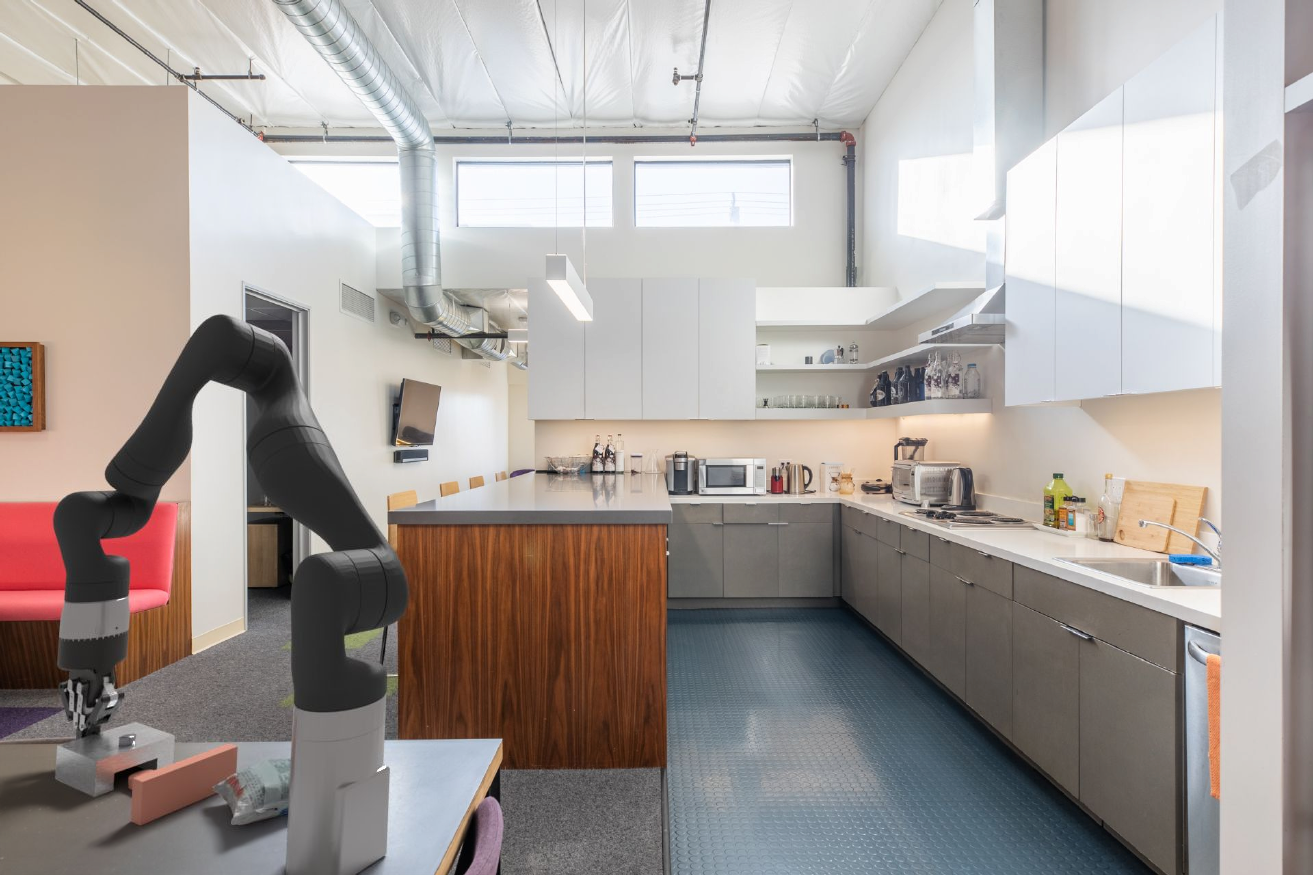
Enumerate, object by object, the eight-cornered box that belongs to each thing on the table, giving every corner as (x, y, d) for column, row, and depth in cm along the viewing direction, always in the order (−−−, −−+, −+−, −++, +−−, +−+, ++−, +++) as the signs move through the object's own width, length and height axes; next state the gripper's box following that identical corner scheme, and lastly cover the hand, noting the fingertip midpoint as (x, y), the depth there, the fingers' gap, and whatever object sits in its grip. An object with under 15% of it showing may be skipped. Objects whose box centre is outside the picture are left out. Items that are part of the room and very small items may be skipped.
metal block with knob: (172, 768, 89) (175, 727, 90) (94, 797, 81) (97, 753, 82) (133, 753, 94) (135, 714, 94) (55, 779, 86) (57, 737, 86)
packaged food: (229, 844, 72) (232, 799, 72) (210, 803, 81) (213, 762, 81) (314, 817, 78) (316, 776, 78) (288, 782, 87) (290, 744, 87)
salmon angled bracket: (235, 784, 85) (237, 746, 85) (139, 825, 75) (142, 781, 75) (181, 764, 90) (183, 728, 90) (85, 800, 80) (87, 759, 81)
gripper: (151, 630, 92) (143, 753, 91) (102, 619, 98) (94, 734, 97) (87, 642, 85) (77, 775, 84) (38, 629, 91) (29, 754, 90)
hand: (86, 753), depth 91 cm, fingers closed
